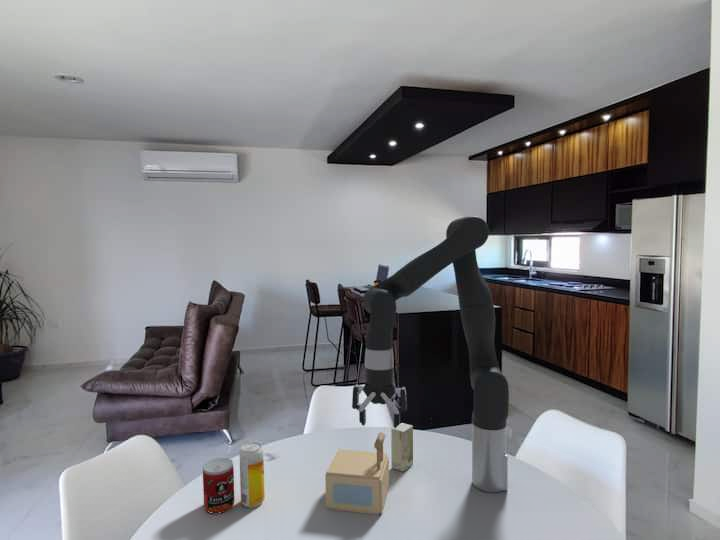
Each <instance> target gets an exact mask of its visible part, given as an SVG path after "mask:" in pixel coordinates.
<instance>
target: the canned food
mask: <svg viewBox="0 0 720 540" xmlns="http://www.w3.org/2000/svg"><path fill="white" fill-rule="evenodd" d="M234 470H235V469H234V461H233V459H231V458H227V457H217V458H214V459H211V460H208V461H206V462H205V463H204V465H203V466H202V484H203V485H202V486H203V490H202V491H203V508H204V510H205V509H206V510H207V511H209V512H212V513H219V512H223V511H226V510H228V509H229V508H230V509H232V507H233V506H234V504H235V473H234ZM230 509H229V510H230ZM206 510H205V511H206ZM229 510H228V511H229ZM207 511H206V512H207ZM226 512H227V511H226ZM223 513H224V512H223Z"/></svg>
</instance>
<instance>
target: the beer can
mask: <svg viewBox="0 0 720 540" xmlns="http://www.w3.org/2000/svg"><path fill="white" fill-rule="evenodd" d="M264 461H265V460H264V448H263V446H262V444H261V443H259V442H247V443H245V444H242V446H241V447H240V450H239V478H240V479H239V480H240V484H239V485H240V503H241V504H242V505H243V507H244V508H248V507H249V509H252V508H253V509H254V508H256V507H259V506H261V504H262V503H263V501H264V500H265V469H264V468H265V466H264Z"/></svg>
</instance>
